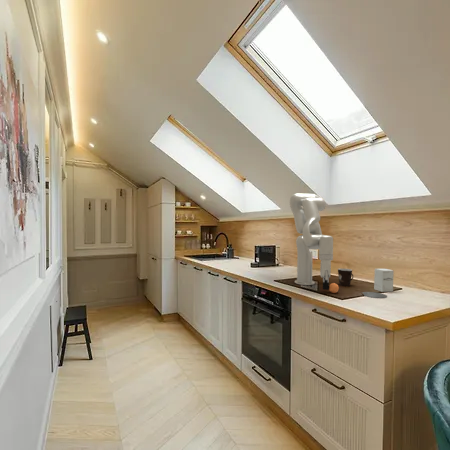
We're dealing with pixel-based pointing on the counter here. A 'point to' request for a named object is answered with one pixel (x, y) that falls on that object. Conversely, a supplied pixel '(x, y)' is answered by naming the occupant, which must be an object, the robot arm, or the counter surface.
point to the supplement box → (383, 280)
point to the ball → (333, 288)
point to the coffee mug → (345, 277)
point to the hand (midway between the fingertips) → (325, 289)
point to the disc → (374, 295)
